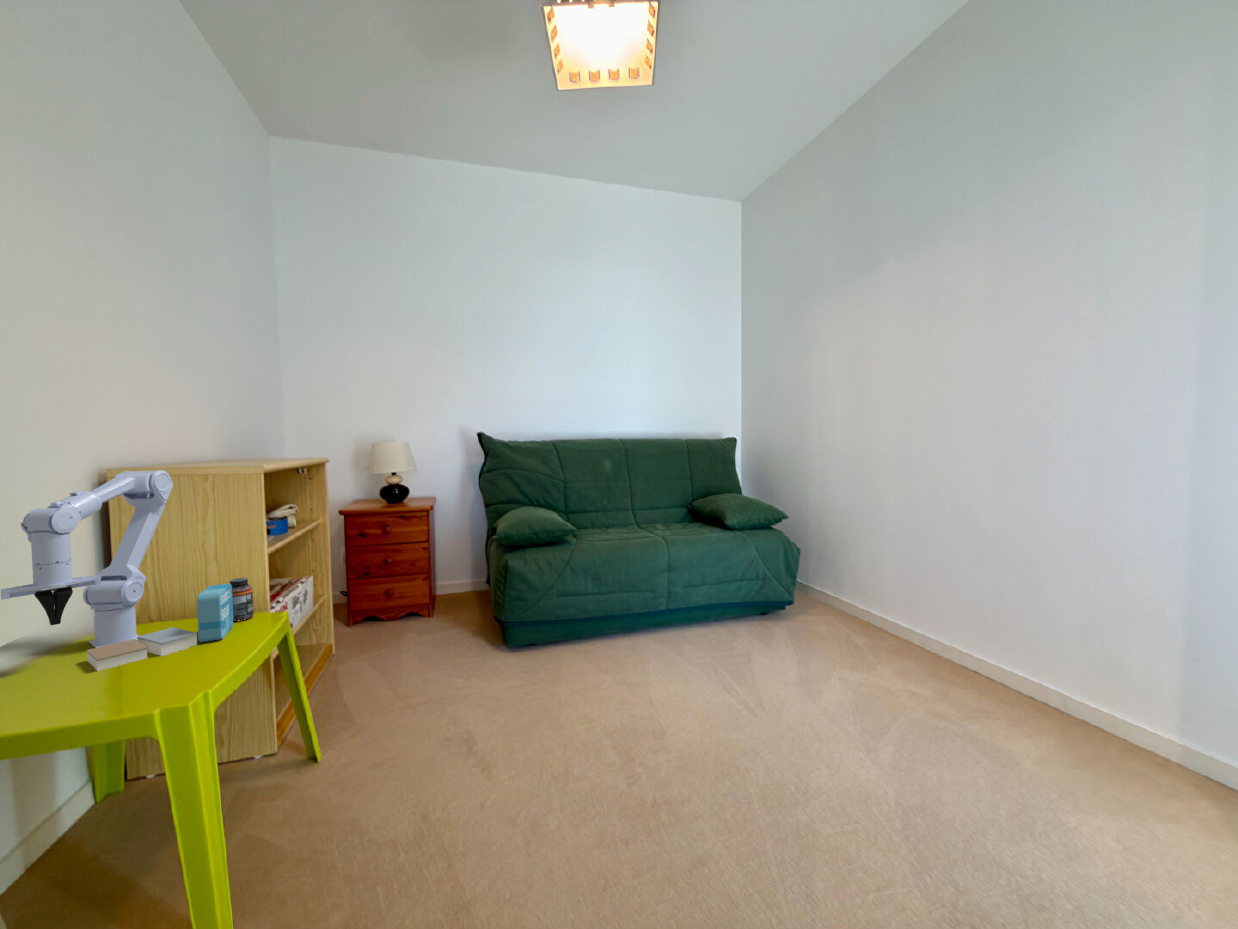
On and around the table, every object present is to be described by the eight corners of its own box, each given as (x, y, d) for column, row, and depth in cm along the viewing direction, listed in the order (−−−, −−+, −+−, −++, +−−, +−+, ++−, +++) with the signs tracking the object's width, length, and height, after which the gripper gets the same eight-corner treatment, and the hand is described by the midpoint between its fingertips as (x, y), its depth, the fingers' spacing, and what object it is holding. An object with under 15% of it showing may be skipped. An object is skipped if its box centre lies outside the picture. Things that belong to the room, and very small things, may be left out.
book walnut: (87, 663, 114) (86, 650, 114) (135, 651, 120) (134, 639, 120) (97, 673, 108) (97, 659, 108) (147, 660, 115) (147, 647, 115)
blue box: (221, 641, 125) (219, 593, 124) (198, 644, 123) (196, 595, 122) (233, 626, 135) (232, 582, 135) (212, 629, 134) (210, 584, 133)
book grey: (137, 650, 121) (137, 636, 120) (173, 640, 127) (173, 627, 127) (162, 657, 116) (161, 643, 116) (197, 646, 122) (197, 633, 122)
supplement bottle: (230, 617, 143) (229, 578, 143) (256, 614, 146) (254, 575, 145) (224, 624, 138) (222, 582, 137) (250, 620, 140) (248, 580, 140)
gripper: (2, 571, 103) (5, 637, 103) (102, 558, 114) (105, 617, 115) (-2, 567, 107) (1, 631, 107) (96, 555, 119) (98, 612, 119)
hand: (55, 623), depth 111 cm, fingers closed
